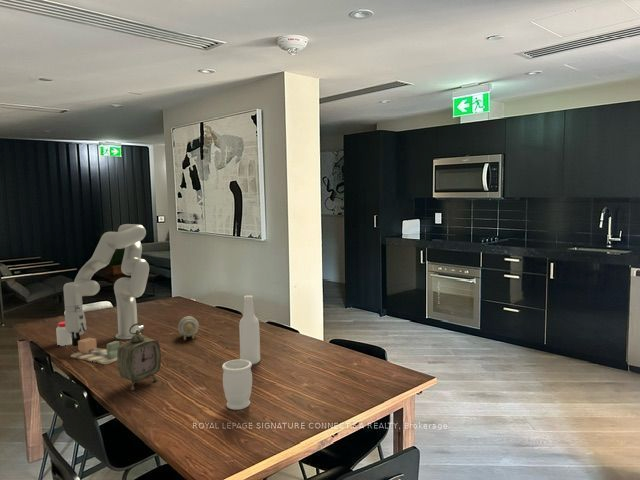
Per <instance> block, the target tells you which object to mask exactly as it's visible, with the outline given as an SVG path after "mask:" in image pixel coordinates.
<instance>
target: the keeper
mask: <svg viewBox="0 0 640 480" xmlns="http://www.w3.org/2000/svg"><path fill="white" fill-rule="evenodd" d="M97 345H98V344H97V338H94V337H91V336H89V337H86V338H83V339H80V340H79V341H78V347H77V348H78V349H77V350H78V351H79V352H81V353H86V354H88V353H89V350H96V348H98V347H97Z"/></svg>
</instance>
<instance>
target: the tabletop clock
mask: <svg viewBox="0 0 640 480" xmlns="http://www.w3.org/2000/svg"><path fill="white" fill-rule="evenodd" d="M135 325H137V326H138V325H139V326H141V325H143V326H144V328H143V329H140V330H139V331H138V330H136V333H132V332H131V328H132V327H133V326H135ZM145 327H146V326H145V324H144V323H142V322H137V323H136V324H134V325H132V326H131V327H130V329H129V332H130V333H131V334H135V335H133V336H132V338H131V339H130V340H129V341H127V342H124V343H122V344H121V345H120V346H119V347H118V351H117V361H116V363H117V370H118V373H119V376H120V378H121V379H126V380H130V381H131V386H130V387H129V388H130V389H129V390H130V391H134V390H135V386H134V384H138V383H139V381H142V380H145V379H149V378H150V377H152V378H153V379H152V380H153V381H154V382H156V381H157V380H158V377H157V376H155V375H156V374H157V373H158V372H159V371H160V369H161V363H162V361H161V360H162V356H161V347H160V343H159V341H158V340H156V339H151V338H147V337H145V336H144V335H143V334H142V332H143V331H144V330H145ZM139 333H141V334H139Z"/></svg>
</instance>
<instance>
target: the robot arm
mask: <svg viewBox="0 0 640 480" xmlns="http://www.w3.org/2000/svg"><path fill="white" fill-rule="evenodd" d="M146 236H147V230H146V228H145V227H144V226H143V225H142V224H138V223H137V224H135V223H133V224H131V223H126V224H123V223H122V224H121V225H120V226H119V227H118V229H117V231H107V232H104V233H103V234H102V235H101V237H100V239H99V241H98V244H97V246H96V247H95V250H94V252H93V254H92V256H91V258H90V259H88V261H86V262H85V264H84V265H83V266H82V267H81V268H80V269H79V270H78V273H77V274H76V276H75V278H74V281H73V282H72V281H71V282H66V283H64V285H63V301H64V321H65V329H66V330H67V332H68V333H70V334H71V338H72V344H71V345H72V347H77V346H78V341H79V340H81V336H83V335H84V334H85V333H84V331H87V328H88V327H87V320H86V314H85V312H84V310H83V307H84V306H83V297H89V296H90V297H91V296H95V295H97V294H98V293H99V292H100V290H101V287H100V284H99V283H98V282H97V281H96V280H93V279H92V277H93V276H94V274H96V273H97V272H98V271H100V270H101V269H104V268H105V267H107V266H108V265H110V262H111V260H112V258H113V255H114V254H115V252H116V250H117V249H118V250H121V249H124V253H123V257H122V261H121V267H120V269H121V273H122V274H124V275H125V276H131V277H120V278H118V279H117V280H115V282H114V284H113V290H114V291H113V292H114V295H115V300H116V313H117V330H118V331H117V332H118V333H116V334H115V339H118V340H131V338H132V336H133V335H135V334H131V333H130V332H129V329H130V327H131V326H132V325H134V324H136V323H138V312H137V311H138V310H137V301H136V298H139V297H141V296H142V295H143V294H144V293H145V290H146V287H147V282H148V278H149V275H150V274H149V272H150V265H149V263H148V262H147V260H146V259H144V258H142V253H143V245H142V243H141V241H143V240H144V238H145V237H146ZM143 328H144V326H143V325H141V324H139V325H135V326H133V327H132V328H131V332H132V333H136V330H138V331H141V330H142V329H143ZM144 329H145V328H144ZM139 334H142V332H141V333H139Z"/></svg>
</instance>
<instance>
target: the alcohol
mask: <svg viewBox="0 0 640 480" xmlns="http://www.w3.org/2000/svg"><path fill="white" fill-rule="evenodd" d="M253 297H254V296H253V295H252V294H247V295H244V296H243V300H244V301H243V316H242V317H241V319H240V320H239V325H238V327H239V329H238V330H239V358H240V359H243V360H248V361H250V362H251V363H252V366H253V365H257V364H258V363H259V362H260V361H261V343H260V341H261V339H260V335H261V334H260V321H259V319H258V318H257V316H256V315H255V309H254V298H253Z"/></svg>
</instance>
